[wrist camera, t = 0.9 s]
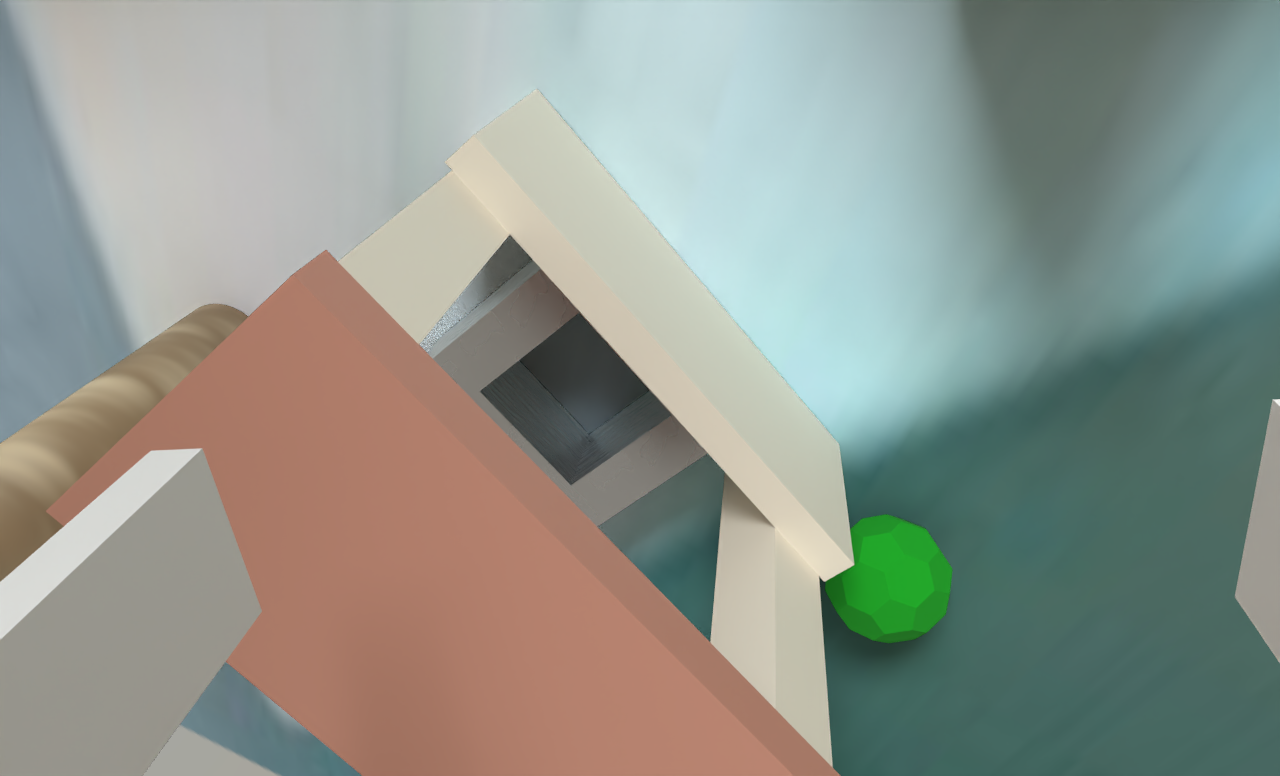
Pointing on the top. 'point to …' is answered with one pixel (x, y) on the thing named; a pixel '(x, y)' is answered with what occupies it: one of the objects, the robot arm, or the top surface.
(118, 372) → the peg
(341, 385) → the pink-topped stool
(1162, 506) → the top surface
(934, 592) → the polyhedron
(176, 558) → the robot arm
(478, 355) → the inner socket
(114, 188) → the top surface
